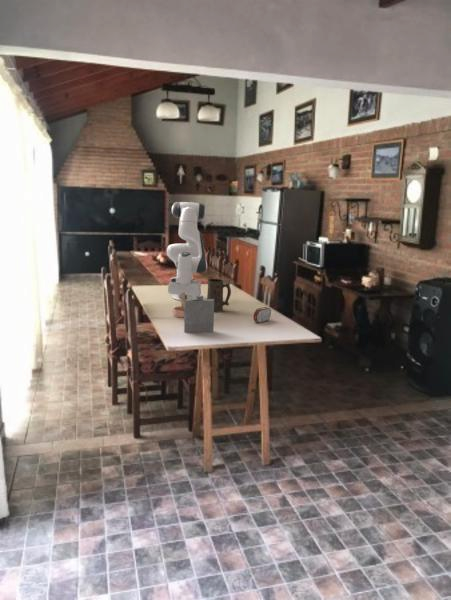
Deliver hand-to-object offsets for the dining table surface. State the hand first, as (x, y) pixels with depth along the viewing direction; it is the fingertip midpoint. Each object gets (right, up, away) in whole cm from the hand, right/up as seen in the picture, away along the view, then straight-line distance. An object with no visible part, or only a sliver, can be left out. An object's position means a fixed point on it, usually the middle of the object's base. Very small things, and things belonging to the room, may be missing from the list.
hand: (184, 302), depth 302 cm
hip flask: (+11, -16, -34) cm, 39 cm away
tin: (+47, -12, -7) cm, 49 cm away
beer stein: (+20, -5, +18) cm, 28 cm away
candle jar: (0, -8, +2) cm, 8 cm away
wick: (0, -4, +1) cm, 4 cm away
